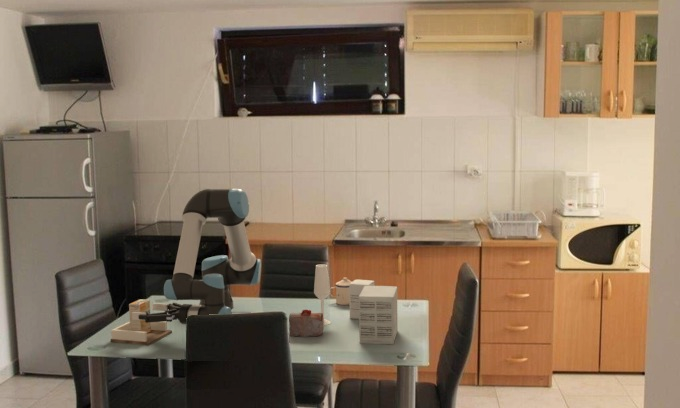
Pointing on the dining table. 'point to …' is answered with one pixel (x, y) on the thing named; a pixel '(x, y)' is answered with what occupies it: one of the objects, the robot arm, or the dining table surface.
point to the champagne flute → (322, 286)
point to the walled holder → (140, 334)
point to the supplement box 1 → (142, 307)
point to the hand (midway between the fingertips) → (143, 311)
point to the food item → (306, 324)
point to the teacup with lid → (342, 291)
